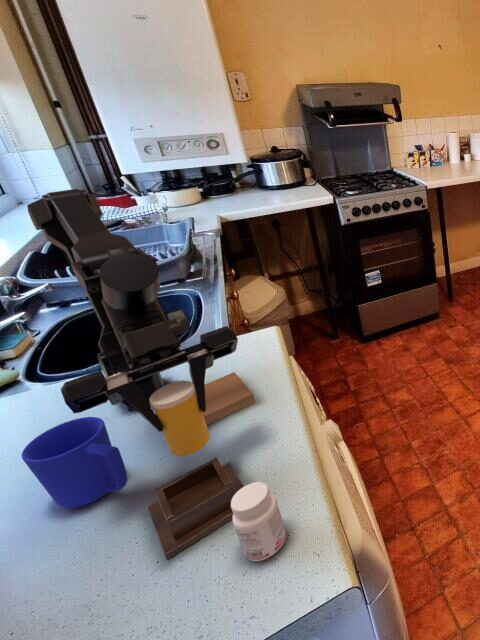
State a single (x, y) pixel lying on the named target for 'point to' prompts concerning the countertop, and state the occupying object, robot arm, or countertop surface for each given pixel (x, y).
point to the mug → (76, 462)
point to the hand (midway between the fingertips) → (183, 421)
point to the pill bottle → (257, 521)
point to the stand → (194, 505)
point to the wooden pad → (225, 397)
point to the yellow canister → (180, 417)
